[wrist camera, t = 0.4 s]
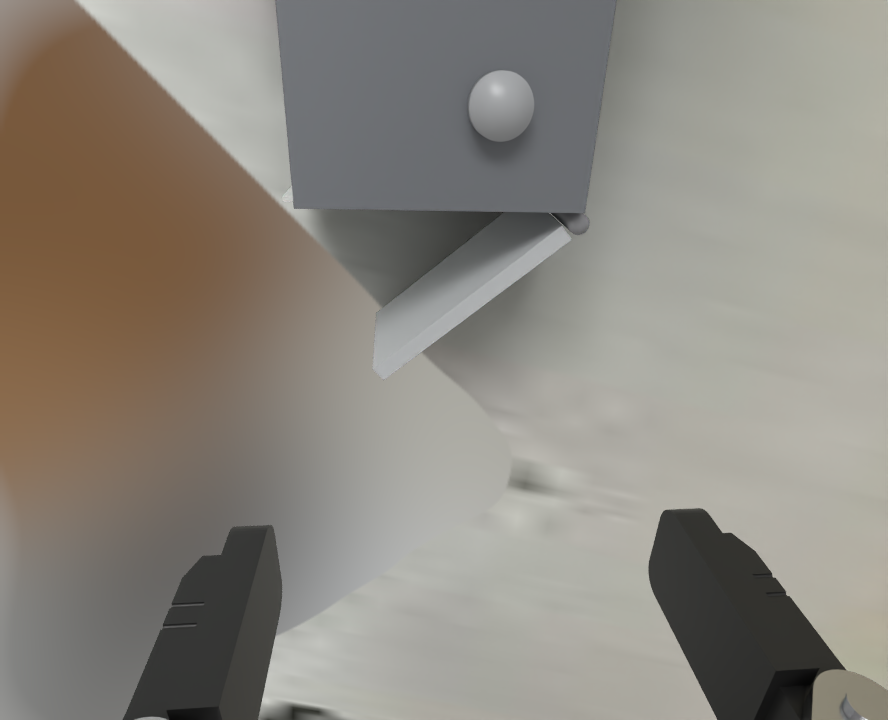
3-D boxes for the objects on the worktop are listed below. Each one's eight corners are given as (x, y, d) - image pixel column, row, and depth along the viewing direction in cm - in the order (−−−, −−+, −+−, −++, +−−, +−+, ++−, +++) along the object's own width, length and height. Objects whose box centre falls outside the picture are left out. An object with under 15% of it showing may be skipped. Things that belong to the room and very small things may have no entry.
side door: (375, 311, 33) (371, 369, 27) (542, 180, 30) (582, 209, 24) (391, 328, 34) (391, 389, 27) (556, 201, 31) (599, 235, 25)
